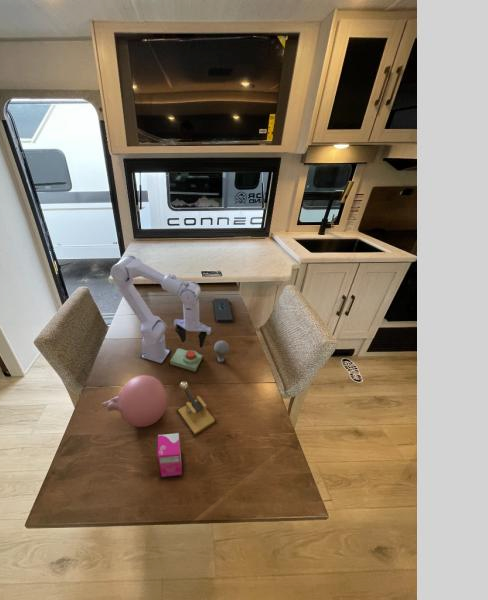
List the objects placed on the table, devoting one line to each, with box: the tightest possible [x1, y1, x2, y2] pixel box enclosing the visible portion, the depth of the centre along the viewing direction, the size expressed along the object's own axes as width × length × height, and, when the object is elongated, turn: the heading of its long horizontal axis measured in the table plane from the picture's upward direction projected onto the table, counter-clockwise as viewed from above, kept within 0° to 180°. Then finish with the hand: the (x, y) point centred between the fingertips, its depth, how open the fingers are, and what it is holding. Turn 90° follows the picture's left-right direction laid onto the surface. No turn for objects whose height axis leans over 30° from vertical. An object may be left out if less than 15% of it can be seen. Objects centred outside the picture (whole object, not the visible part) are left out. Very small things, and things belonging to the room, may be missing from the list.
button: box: [186, 349, 195, 360], centre depth 106 cm, size 4×4×2 cm
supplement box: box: [157, 432, 183, 478], centre depth 72 cm, size 6×6×12 cm
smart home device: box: [213, 298, 234, 323], centre depth 140 cm, size 8×2×20 cm
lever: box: [179, 380, 202, 413], centre depth 87 cm, size 11×3×3 cm, turn 33°
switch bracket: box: [177, 395, 216, 436], centre depth 86 cm, size 10×8×7 cm
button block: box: [169, 347, 203, 372], centre depth 108 cm, size 11×8×4 cm
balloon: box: [101, 374, 168, 428], centre depth 84 cm, size 15×20×15 cm
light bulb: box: [213, 340, 230, 363], centre depth 107 cm, size 6×6×10 cm
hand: (192, 343), depth 103 cm, fingers open, 7 cm apart
